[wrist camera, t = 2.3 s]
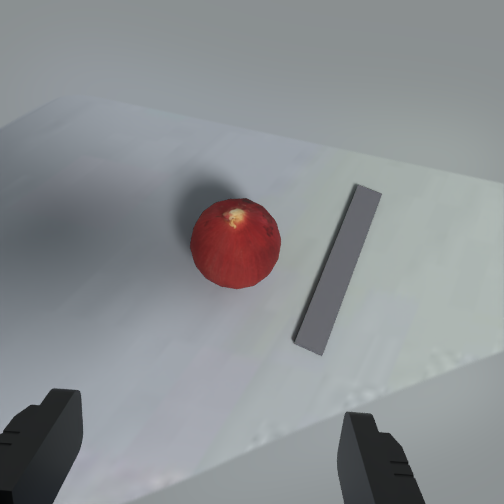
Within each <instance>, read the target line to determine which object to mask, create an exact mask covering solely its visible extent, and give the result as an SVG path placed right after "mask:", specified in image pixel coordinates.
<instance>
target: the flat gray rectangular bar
mask: <svg viewBox="0 0 504 504" xmlns="http://www.w3.org/2000/svg"><path fill="white" fill-rule="evenodd" d="M381 195H382V194H381V193H379V192H376V191H373V190H371V189H368V188H366V187H363V186H361V185H358V186H357V189H356V191H355V194H354V196H353V199H352V201H351V203H350V206H349V208H348V211H347V213H346V216H345V218H344V221H343V223H342V226H341V228H340V231H339V233H338V236H337V238H336V241H335V243H334V246H333V248H332V251H331V253H330V255H329V258H328V260H327V263H326V265H325V268H324V270H323V273H322V275H321V278H320V280H319V283H318V285H317V288H316V290H315V293H314V295H313V298H312V300H311V302H310V305H309V307H308V310H307V312H306V315H305V317H304V320H303V322H302V325H301V327H300V330H299V332H298V335H297V337H296V340H295V342H294V344H296V345H298V346H301V347H303V348H305V349H307V350H309V351H312V352H314V353H316V354H318V355H321V356H322V355H323V352H324V350H325V347H326V344H327V342H328V339H329V336H330V333H331V331H332V328H333V325H334V323H335V320H336V317H337V314H338V312H339V309H340V306H341V304H342V301H343V298H344V296H345V293H346V290H347V287H348V285H349V282H350V279H351V277H352V274H353V271H354V268H355V266H356V263H357V260H358V258H359V255H360V252H361V249H362V247H363V244H364V241H365V239H366V236H367V233H368V231H369V228H370V225H371V222H372V220H373V217H374V214H375V212H376V209H377V206H378V203H379V201H380V198H381Z"/></svg>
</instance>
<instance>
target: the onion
mask: <svg viewBox="0 0 504 504" xmlns="http://www.w3.org/2000/svg"><path fill="white" fill-rule="evenodd" d="M280 246H281V237H280V234H279V230H278V227H277V223H276V221H275V219H274V218H273V217H272V216H271V215H270V214H269V213H268V211H267V210H266V209H265V208H264V207H263V206H261V205H259V204H257V203H255V202H253V201H251V200H249V199H247V198H242V199H228V200H224V201H220V202H216V203H214V204H213V205H212V206H210V207H209V208H207V209H206V210H205V211H203V212H202V214H201V216H200V217H199V219H198V221H197V222H196V224H195V226H194V228H193V233H192V237H191V242H190V249H191V252H192V256H193V259H194V263H195V265H196V267H197V268H198V269H199V271H200V272H201V273H202V274H203V275H204V277H205V278H206V279H208V280H210V281H211V282H213V283H215V284H217V285H219V286H221V287H227V288H233V289H240V288H245V287H250V286H254V285H256V284H257V283H258V282H260V281H261V280H263V279H264V278H265V277H267V276H268V275H269V274H270V272H271V271H272V269H273V267H274V265H275V264H276V262H277V260H278V258H279V252H280Z"/></svg>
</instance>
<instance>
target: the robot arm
mask: <svg viewBox="0 0 504 504" xmlns="http://www.w3.org/2000/svg"><path fill="white" fill-rule="evenodd" d="M82 439H83V419H82V403H81V393H80V391H79V390H69V389H56V388H53V389H52V390H50V392H49V393H48V394H47V396H46V397H45V399H44V400H43V401H42V403H41V404H40V405H30V406H28V407H27V408H26V409H24V410H23V411H21V412H20V413H18V414H17V415H16V416H14V417H13V419H12V420H11V421H10V423H9V424H8V425H7V426H6V428H5V429H4V430H3V433H1V434H0V504H53V502H54V500H55V498H56V496H57V494H58V492H59V490H60V488H61V486H62V484H63V482H64V480H65V478H66V476H67V475H68V473H69V471H70V469H71V467H72V465H73V463H74V461H75V459H76V457H77V455H78V453H79V450H80V447H81V444H82ZM337 469H338V476H339V480H340V485H341V490H342V495H343V499H344V504H425V501H424V499H423V496H422V494H421V492H420V489H419V487H418V485H417V482H416V480H415V478H414V476H413V472H412V470H411V468H410V466H409V465H408V460H407V458H406V455H405V453H404V451H403V448H402V446H401V445H400V444H399V443H398V442H397V441H396V440H395V439H394V438H393V436H392V435H391V434H390V433H382V432H379V431H378V429H377V426H376V423H375V420H374V418H373V415H372V414H369V413H356V412H346V413H345V416H344V420H343V426H342V431H341V437H340V442H339V447H338V454H337Z"/></svg>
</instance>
